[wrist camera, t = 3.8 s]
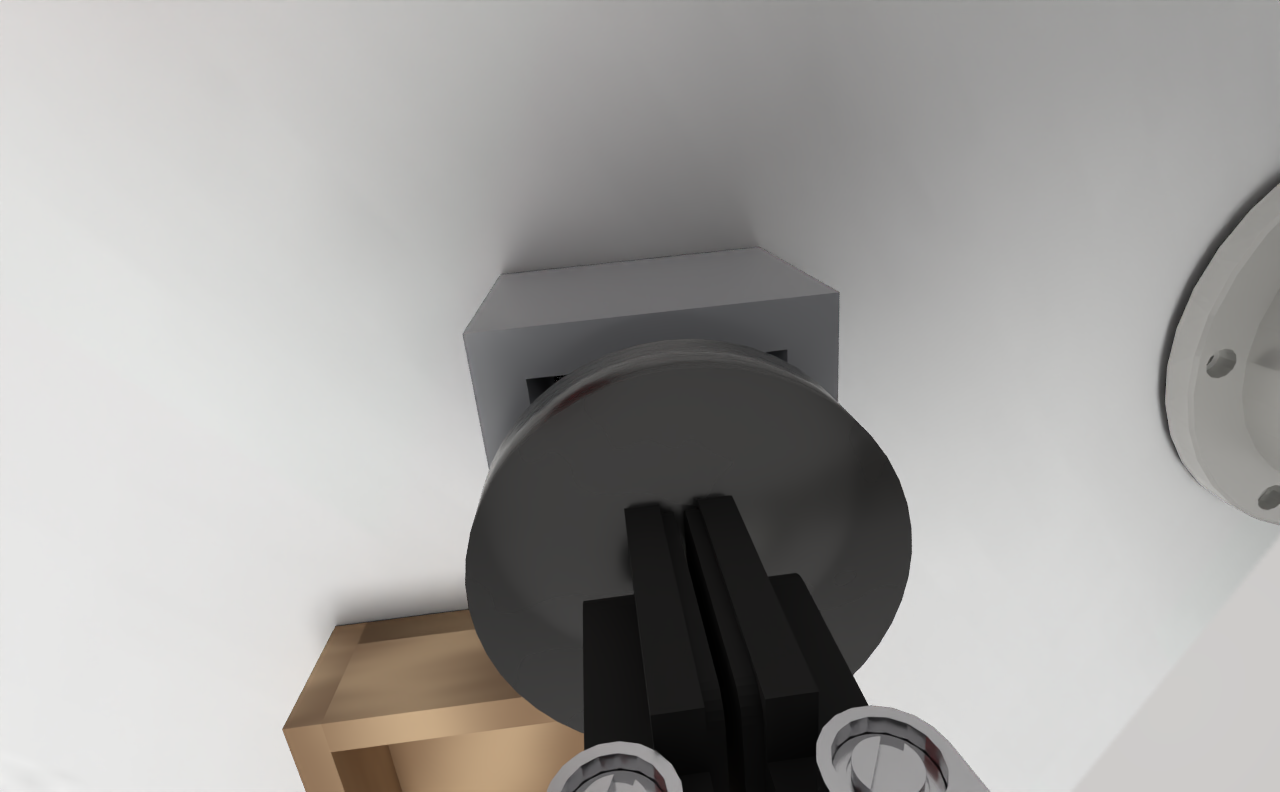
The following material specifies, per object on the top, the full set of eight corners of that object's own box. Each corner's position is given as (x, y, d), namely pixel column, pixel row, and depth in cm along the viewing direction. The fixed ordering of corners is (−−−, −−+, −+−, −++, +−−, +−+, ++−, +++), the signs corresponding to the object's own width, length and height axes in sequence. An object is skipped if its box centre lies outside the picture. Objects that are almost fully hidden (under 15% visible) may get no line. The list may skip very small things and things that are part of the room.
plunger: (767, 251, 17) (925, 341, 9) (773, 489, 20) (901, 719, 12) (496, 280, 17) (421, 398, 9) (537, 517, 19) (506, 774, 12)
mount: (759, 247, 18) (839, 291, 12) (765, 476, 21) (834, 599, 15) (500, 274, 18) (462, 333, 12) (538, 503, 20) (522, 640, 15)
